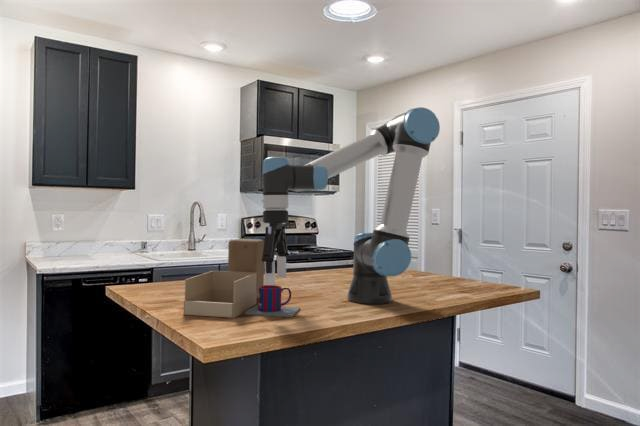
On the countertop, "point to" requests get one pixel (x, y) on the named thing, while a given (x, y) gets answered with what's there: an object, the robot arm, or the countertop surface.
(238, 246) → the wooden block
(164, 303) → the countertop surface
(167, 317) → the countertop surface
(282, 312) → the mat
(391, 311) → the countertop surface
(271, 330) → the countertop surface
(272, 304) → the mug
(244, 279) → the carton
